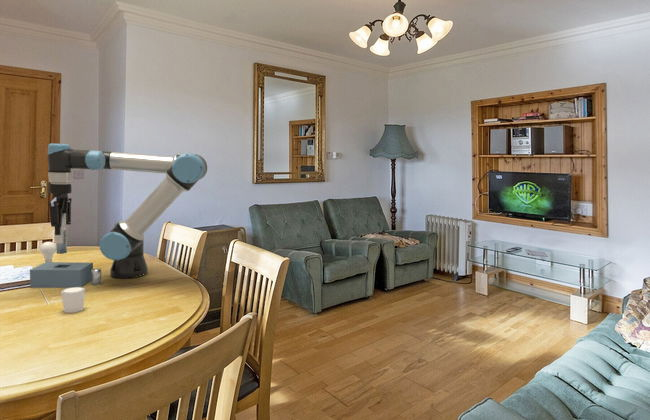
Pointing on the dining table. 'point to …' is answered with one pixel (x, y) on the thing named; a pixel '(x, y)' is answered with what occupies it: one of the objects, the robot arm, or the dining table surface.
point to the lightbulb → (48, 250)
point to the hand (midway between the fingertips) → (61, 241)
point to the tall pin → (62, 247)
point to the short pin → (96, 276)
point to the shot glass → (73, 299)
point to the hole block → (60, 275)
